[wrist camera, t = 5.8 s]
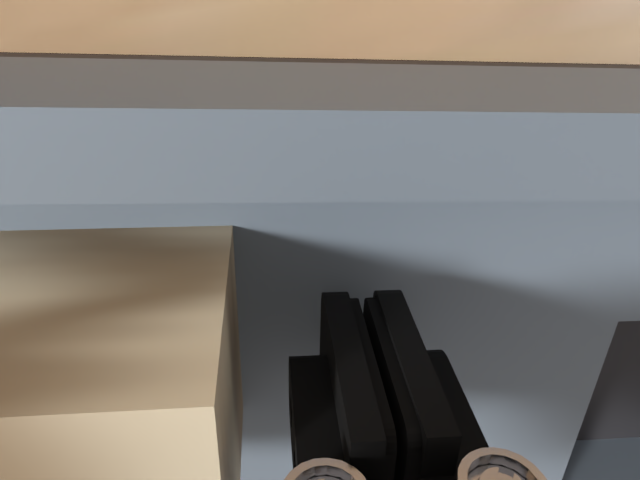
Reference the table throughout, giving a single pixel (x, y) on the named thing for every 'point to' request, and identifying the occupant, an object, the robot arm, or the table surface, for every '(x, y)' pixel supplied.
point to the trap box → (373, 217)
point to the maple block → (119, 354)
